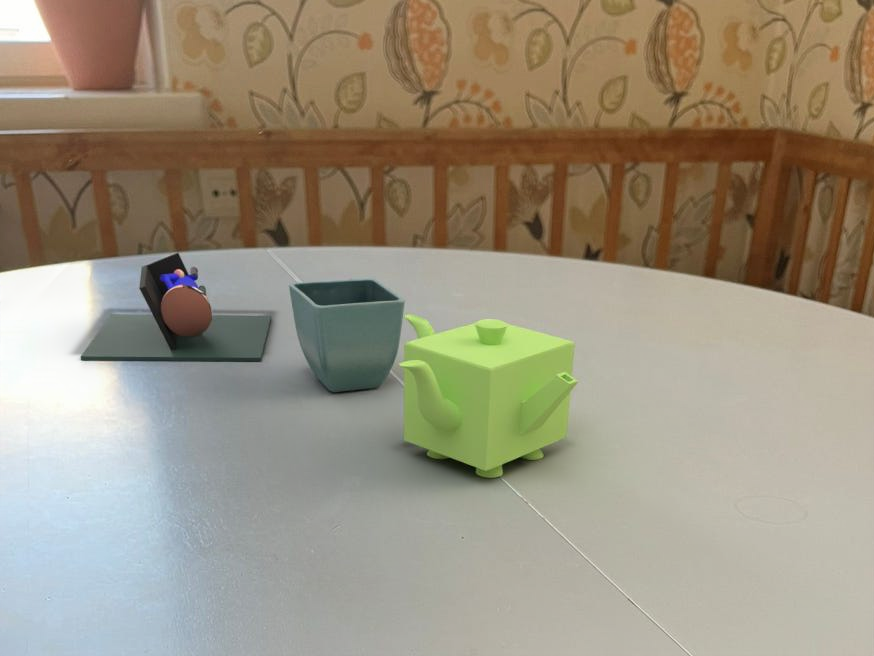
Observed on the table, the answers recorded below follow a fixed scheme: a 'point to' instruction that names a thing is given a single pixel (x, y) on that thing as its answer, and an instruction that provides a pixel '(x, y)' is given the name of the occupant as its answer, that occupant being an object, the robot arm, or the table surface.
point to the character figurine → (175, 298)
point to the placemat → (179, 340)
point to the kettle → (486, 392)
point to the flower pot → (348, 330)
